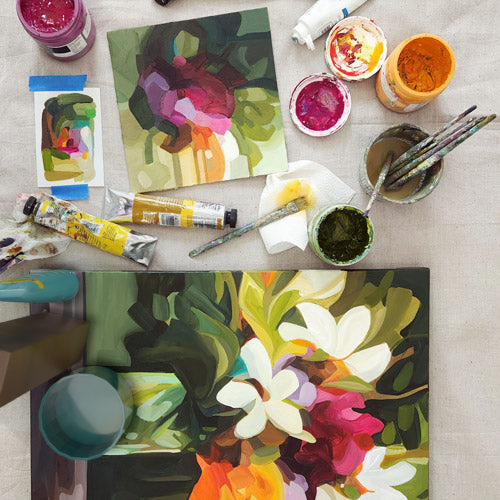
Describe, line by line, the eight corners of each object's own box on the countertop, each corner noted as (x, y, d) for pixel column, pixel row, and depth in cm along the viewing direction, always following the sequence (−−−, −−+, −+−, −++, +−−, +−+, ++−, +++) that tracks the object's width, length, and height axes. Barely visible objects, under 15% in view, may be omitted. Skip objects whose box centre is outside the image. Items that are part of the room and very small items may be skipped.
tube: (84, 265, 70) (20, 266, 50) (89, 297, 69) (27, 310, 50) (36, 273, 70) (-47, 278, 50) (41, 305, 69) (-40, 322, 50)
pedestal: (36, 349, 69) (-72, 394, 46) (46, 311, 69) (-57, 335, 46) (81, 361, 69) (-4, 410, 46) (90, 322, 69) (10, 352, 46)
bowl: (45, 435, 69) (29, 449, 64) (65, 356, 69) (50, 363, 64) (123, 455, 69) (112, 470, 64) (142, 375, 69) (134, 384, 64)
